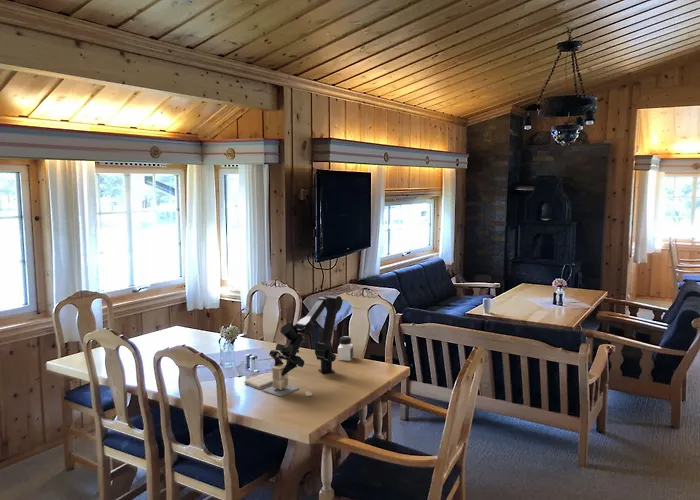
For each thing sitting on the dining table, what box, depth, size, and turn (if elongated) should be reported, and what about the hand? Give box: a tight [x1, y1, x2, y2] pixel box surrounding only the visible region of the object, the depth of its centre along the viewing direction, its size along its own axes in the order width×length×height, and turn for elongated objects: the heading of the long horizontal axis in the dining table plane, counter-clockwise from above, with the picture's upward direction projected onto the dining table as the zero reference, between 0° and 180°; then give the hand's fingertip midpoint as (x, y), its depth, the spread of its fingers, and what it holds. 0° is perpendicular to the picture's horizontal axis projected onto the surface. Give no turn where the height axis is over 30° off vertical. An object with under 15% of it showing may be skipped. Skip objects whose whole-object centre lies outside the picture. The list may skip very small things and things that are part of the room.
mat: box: [261, 384, 300, 397], centre depth 274 cm, size 12×12×1 cm
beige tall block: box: [271, 364, 289, 390], centre depth 274 cm, size 5×5×10 cm
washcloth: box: [244, 371, 273, 390], centre depth 286 cm, size 12×18×3 cm, turn 137°
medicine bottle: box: [337, 335, 354, 362], centre depth 320 cm, size 7×7×12 cm
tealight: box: [304, 391, 313, 398], centre depth 267 cm, size 3×3×1 cm
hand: (277, 374), depth 272 cm, fingers closed on beige tall block, 5 cm apart
